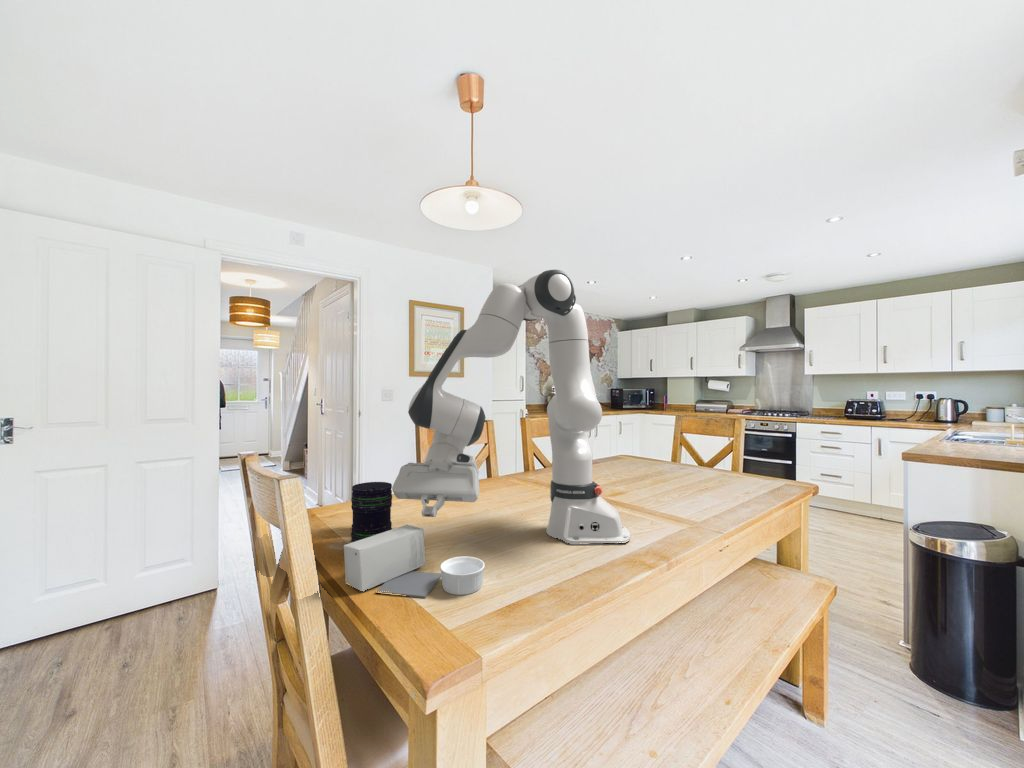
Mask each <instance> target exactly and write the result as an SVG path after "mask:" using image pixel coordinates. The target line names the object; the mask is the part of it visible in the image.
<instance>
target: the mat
mask: <svg viewBox="0 0 1024 768" xmlns="http://www.w3.org/2000/svg"><path fill="white" fill-rule="evenodd" d="M441 579H442V575H441V572H425V571H415V570H412V571H410V572H407V573H405V574H403V575H400V576H398V577H396V578H393V579H391V580H389V581H386V582H384V583H382V584H381V586H380V587H379V588H378V589H377V590H376V591H377V592H378V591H379V592H380V591H381V592H382V591H383V592H382V593H392V594H401V595H406V596H410V597H409V598H419V599H426V598H427V596H428V595H429V594H430V592H431V591H432V590H433V589H434V587H435V586H436V585H437V583H438V582H439V581H440V580H441ZM384 591H385V592H384ZM386 591H387V592H386ZM388 591H389V592H388Z"/></svg>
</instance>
